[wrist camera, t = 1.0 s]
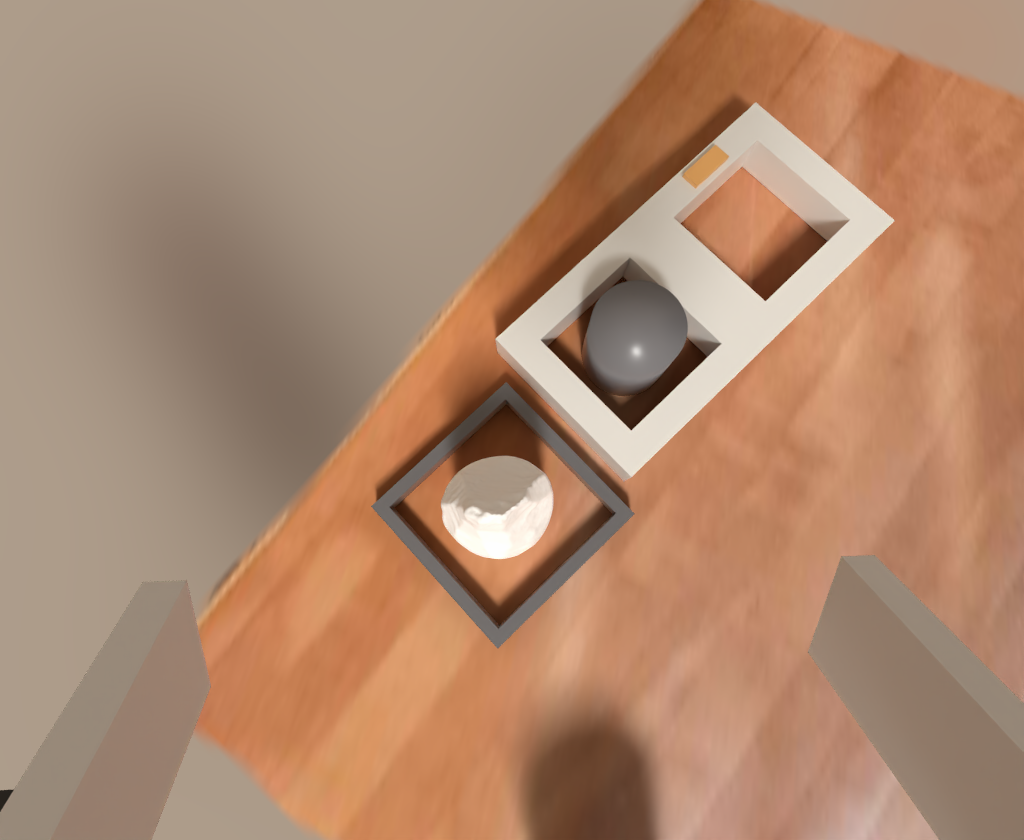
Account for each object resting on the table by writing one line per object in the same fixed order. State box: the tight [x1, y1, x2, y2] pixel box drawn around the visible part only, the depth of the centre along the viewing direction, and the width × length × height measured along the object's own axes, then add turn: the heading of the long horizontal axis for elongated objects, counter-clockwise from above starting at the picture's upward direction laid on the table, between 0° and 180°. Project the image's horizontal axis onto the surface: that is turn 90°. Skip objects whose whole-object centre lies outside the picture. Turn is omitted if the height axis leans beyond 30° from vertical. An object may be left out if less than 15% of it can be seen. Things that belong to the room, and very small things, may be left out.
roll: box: [441, 456, 553, 559], centre depth 34 cm, size 6×12×6 cm
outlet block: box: [495, 103, 895, 481], centre depth 39 cm, size 12×24×6 cm, turn 133°
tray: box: [371, 382, 634, 648], centre depth 39 cm, size 12×12×2 cm
